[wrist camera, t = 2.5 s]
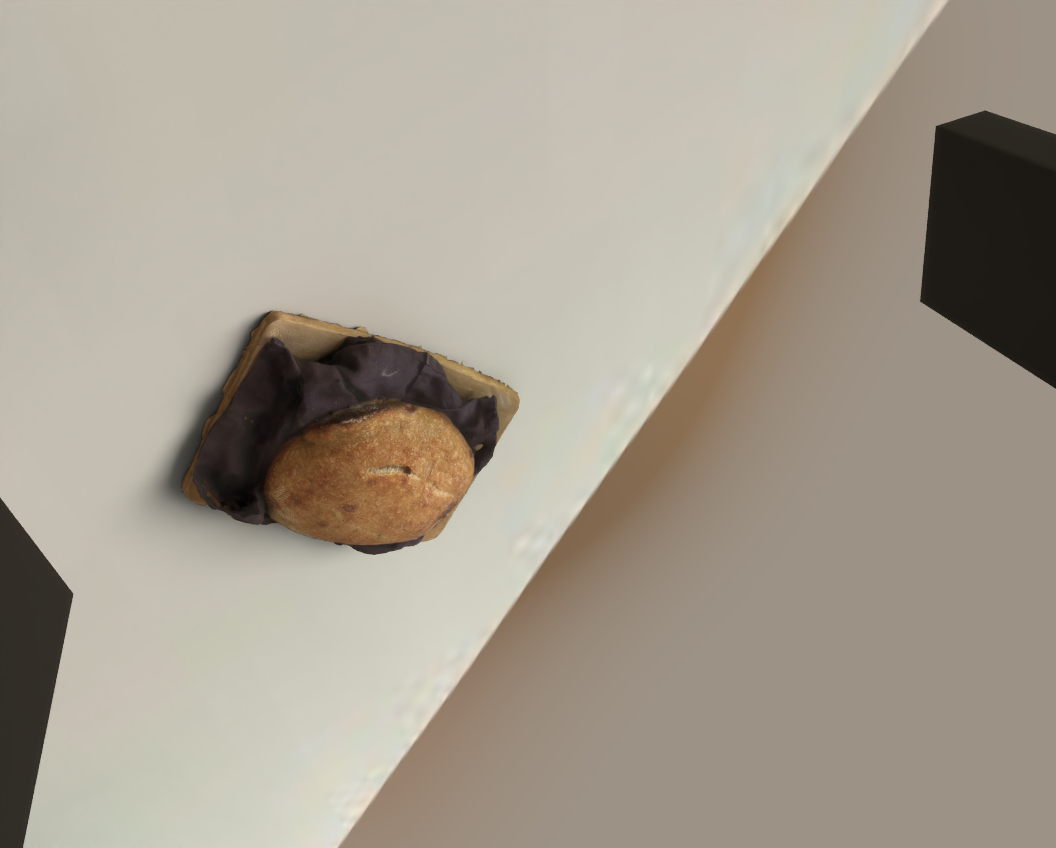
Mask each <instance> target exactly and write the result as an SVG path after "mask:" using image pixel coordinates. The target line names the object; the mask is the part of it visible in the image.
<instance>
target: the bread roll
mask: <svg viewBox="0 0 1056 848" xmlns="http://www.w3.org/2000/svg"><path fill="white" fill-rule="evenodd" d="M245 348H246V349H247V350H245V351H244V352H243V358H241V359H240V362H239V365H238V368H237V369H235V370H234V371H233V373H232V374H231V376H230V377H229V379H228V381H227V382H226V384H225V386H224V388H223V390H222V391H223V394H224V398H223V400H222V402H221V404H220V405H219V408H218V411H217V412H216V414H215V415H213V416H211V417H210V418H208V419H207V421H206V423H205V426H204V429H203V431H202V442H201V444H200V446H199V449H198V451H197V452H196V455H195V457H194V459H193V463H192V465H191V467H190V468H189V470H188V471H187V473H186V474H185V477H184V480H183V484H182V487H181V488H182V490H183V491H182V492H185V495H186V496H187V497H188V498H189V499H190V500H191V501H194V502H196V503H198V504H200V505H208V506H209V507H210V508H212V509H218V510H221V511H224V512H225V513H227V514H228V515H230V516H231V517H232V518H234V519H236V520H238V521H241V522H245V523H250V524H256V525H259V524H263V525H267V524H271V523H279V524H281V525H284V526H286V527H287V528H288V529H290V530H292V531H295V532H298V533H300V534H304V535H307V536H310V537H312V538H316V539H322V540H325V541H331V542H334V543H335V544H337V545H343V544H344V545H349V546H351V547H352V548H353V549H355V550H357V551H360V552H363V553H365V554H372V555H375V554H382V553H387V552H390V551H395V550H399V549H402V548H403V547H407V546H414V545H417V544H418V543H419V542H424V541H428V540H431V539H434V538H436V537H437V536H438V535H439V534H440V533H441V532H442V530H443V529H444V527H445V526H446V524H447V523H448V521H449V519H450V518H451V516H452V514H453V512H454V511H455V509H456V508H457V506H458V505H459V503H460V502H461V500H462V499H463V497H464V496H465V494H466V493H467V491H468V489H469V488H470V486H471V484H472V483H473V481H474V479H475V478H476V476H477V474H478V473H479V472H480V471H481V470H482V468H483V467H484V466H486V465H487V463H488V462H489V460H490V459H491V458H492V456H493V452H494V448H495V446H496V444H497V442H498V441H499V439H500V438H501V436H502V434H503V432H504V431H505V429H506V427H507V426H508V424H509V423H510V421H511V419H512V418H513V416H514V415H515V413H516V412H517V410H518V408H519V402H520V399H519V396H518V393H517V392H515V391H514V390H513V389H512V388H510V387H509V386H508V385H507V386H506V385H505V384H504V383H501V382H500V380H496V379H494V378H492V377H490V376H486V375H484V374H482V373H481V372H480V371H479V373H478V372H476V371H474V369H473V368H469V367H465V366H463V361H462V362H461V364H460V365H459V364H458V363H457V362H454V361H452V360H447V356H446V357H445V356H443V355H441V354H438V353H436V354H435V355H434V354H432V353H430V352H429V351H425V350H423V349H422V347H421V346H420V347H415V346H411V345H407V344H405V343H402V342H400V341H397V340H391V341H390V340H388V339H386V338H384V337H381V336H378V335H370V334H369V333H368V332H367V331H366V329H365V328H364V327H359V328H357V329H356V330H354V329H348V328H344V327H342V326H340V325H339V324H329V323H327V322H322V321H319V320H317V319H313V318H309V317H307V316H305V315H303V314H301V316H296V315H294V314H287V313H284V312H279V311H271V312H270V314H268V315H267V316H266V317H265V318H264V319H263V320H262V322H261V324H260V325H259V327H258V328H256V329H255V330H253V331H252V333H251V341H250V343H249V345H248V346H245Z"/></svg>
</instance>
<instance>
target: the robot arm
mask: <svg viewBox="0 0 1056 848" xmlns="http://www.w3.org/2000/svg"><path fill="white" fill-rule="evenodd" d="M920 302H922V303H923V304H925V305H927V306H928V307H930V308H931V309H933V310H934V311H936V312H937V313H939V314H940V315H942V316H944V317H945V318H947V319H948V320H950V321H951V322H953V323H954V324H956V325H958V326H959V327H961V328H962V329H964V330H965V331H967V332H968V333H970V334H972V335H973V336H975V337H976V338H978V339H979V340H981V341H983V342H984V343H986V344H987V345H989V346H990V347H992V348H993V349H995V350H997V351H998V352H1000V353H1001V354H1003V355H1004V356H1006V357H1007V358H1009V359H1010V360H1012V361H1014V362H1015V363H1017V364H1018V365H1020V366H1022V367H1023V368H1024V369H1026V370H1028V371H1029V372H1031V373H1032V374H1034V375H1035V376H1037V377H1038V378H1040V379H1042V380H1043V381H1045V382H1046V383H1048V384H1049V385H1051V386H1053V387H1054V388H1056V134H1053V133H1050V132H1047V131H1044V130H1041V129H1038V128H1035V127H1032V126H1029V125H1026V124H1023V123H1020V122H1017V121H1014V120H1011V119H1008V118H1005V117H1002V116H999V115H997V114H993V113H991V112H988V111H983V112H979V113H976V114H973V115H970V116H966V117H963V118H960V119H957V120H954V121H951V122H948V123H944V124H941V125H938V126H936V132H935V143H934V154H933V165H932V176H931V187H930V198H929V210H928V221H927V232H926V243H925V254H924V265H923V277H922V288H921V299H920ZM72 598H73V593H72V591H71V590H70V589H69V588H68V586H67V585H66V584H65V582H64V581H63V580H62V578H61V577H60V576H59V574H58V573H57V572H56V570H55V569H54V568H53V566H52V565H51V564H50V563H49V561H48V560H47V559H46V557H45V556H44V555H43V553H42V552H41V551H40V549H39V548H38V547H37V545H36V544H35V543H34V541H33V540H32V539H31V538H30V536H29V535H28V534H27V532H26V531H25V530H24V528H23V527H22V526H21V524H20V523H19V522H18V520H17V519H16V518H15V516H14V515H13V514H12V513H11V511H10V510H9V509H8V507H7V506H6V505H5V503H4V502H3V501H2V499H1V498H0V848H23V844H24V839H25V834H26V829H27V824H28V819H29V814H30V809H31V804H32V799H33V794H34V789H35V784H36V779H37V774H38V769H39V764H40V759H41V754H42V749H43V744H44V739H45V734H46V729H47V724H48V719H49V714H50V709H51V704H52V699H53V694H54V689H55V684H56V678H57V673H58V668H59V663H60V658H61V653H62V648H63V643H64V638H65V633H66V628H67V623H68V618H69V613H70V608H71V603H72Z"/></svg>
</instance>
